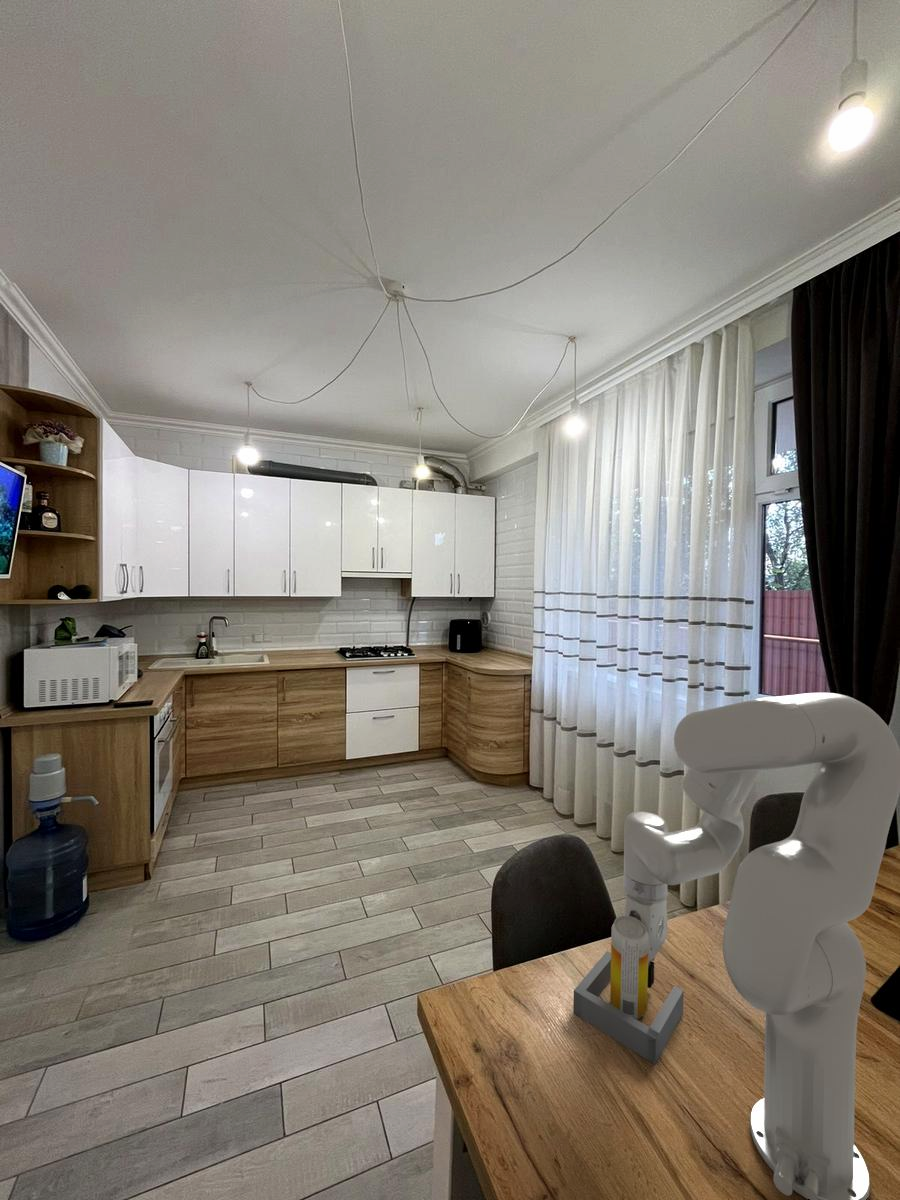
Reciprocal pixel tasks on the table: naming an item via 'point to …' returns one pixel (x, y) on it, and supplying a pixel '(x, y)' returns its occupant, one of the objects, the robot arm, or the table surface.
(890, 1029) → the table surface
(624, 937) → the beer can
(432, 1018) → the table surface
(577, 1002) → the corral
